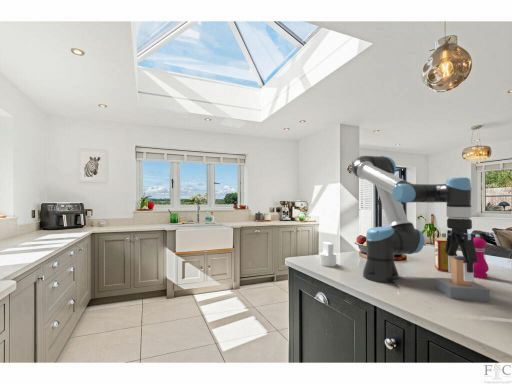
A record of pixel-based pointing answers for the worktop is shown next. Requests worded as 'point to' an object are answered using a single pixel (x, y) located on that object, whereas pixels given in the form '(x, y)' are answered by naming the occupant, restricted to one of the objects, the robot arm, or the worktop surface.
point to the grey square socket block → (462, 290)
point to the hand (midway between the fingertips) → (460, 276)
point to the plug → (458, 271)
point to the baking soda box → (441, 255)
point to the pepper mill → (480, 258)
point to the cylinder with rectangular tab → (327, 255)
